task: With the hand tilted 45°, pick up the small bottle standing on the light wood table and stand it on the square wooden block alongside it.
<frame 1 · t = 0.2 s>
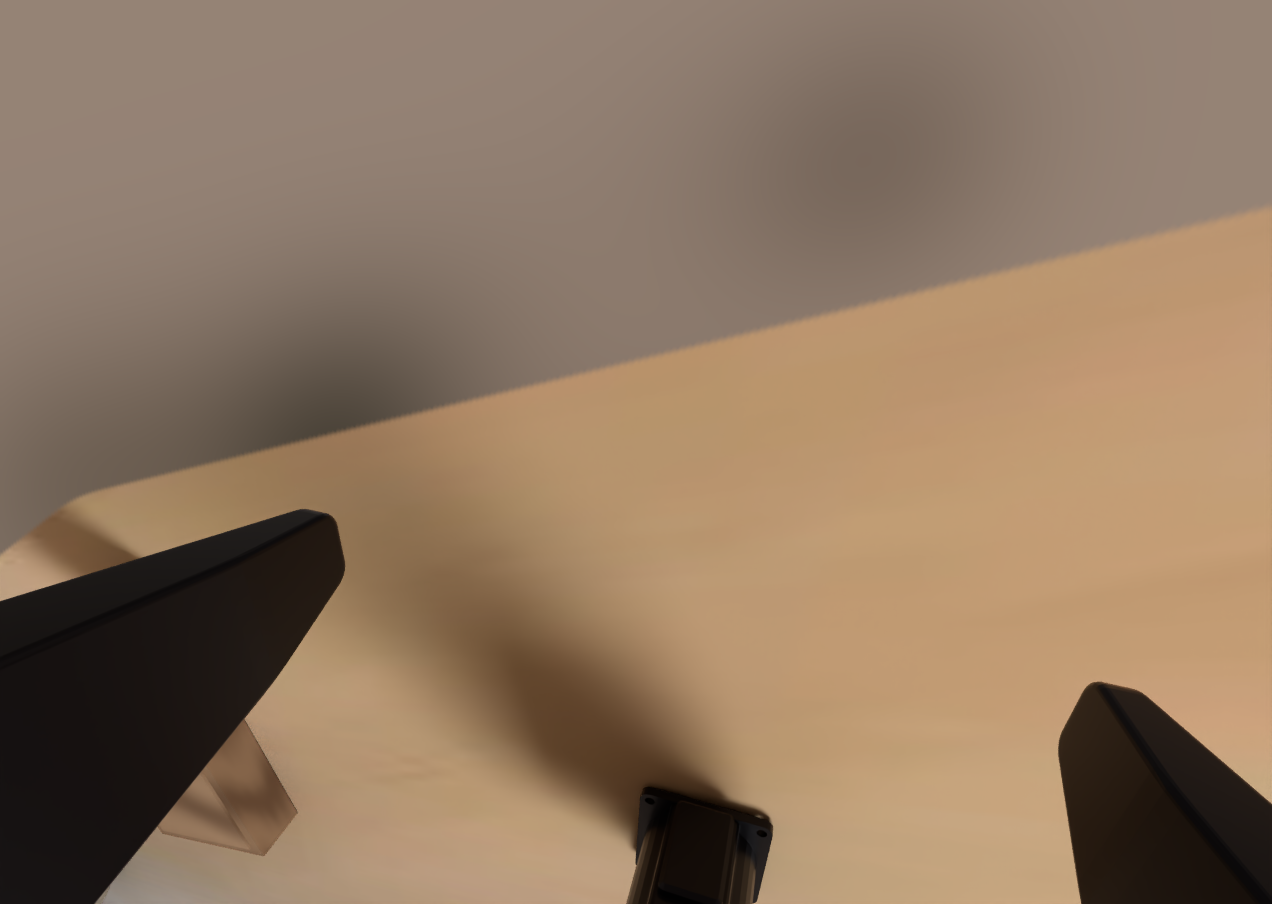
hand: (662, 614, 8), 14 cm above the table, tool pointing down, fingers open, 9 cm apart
square wooden block: (219, 758, 43), on the table
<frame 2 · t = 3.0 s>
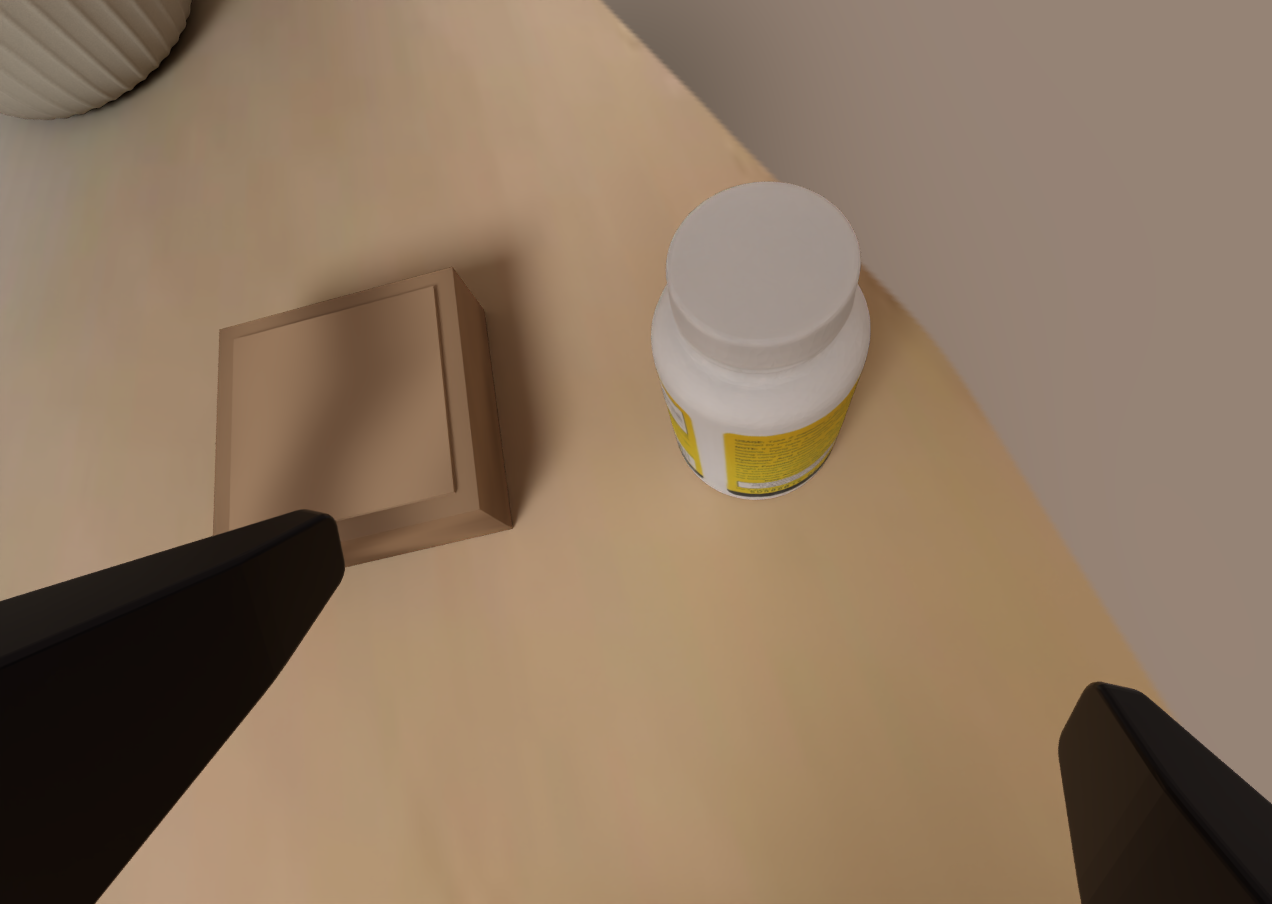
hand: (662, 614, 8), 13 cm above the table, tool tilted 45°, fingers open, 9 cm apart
supplement bottle: (753, 428, 23), on the table
canister: (105, 44, 35), on the table
square wooden block: (384, 440, 24), on the table
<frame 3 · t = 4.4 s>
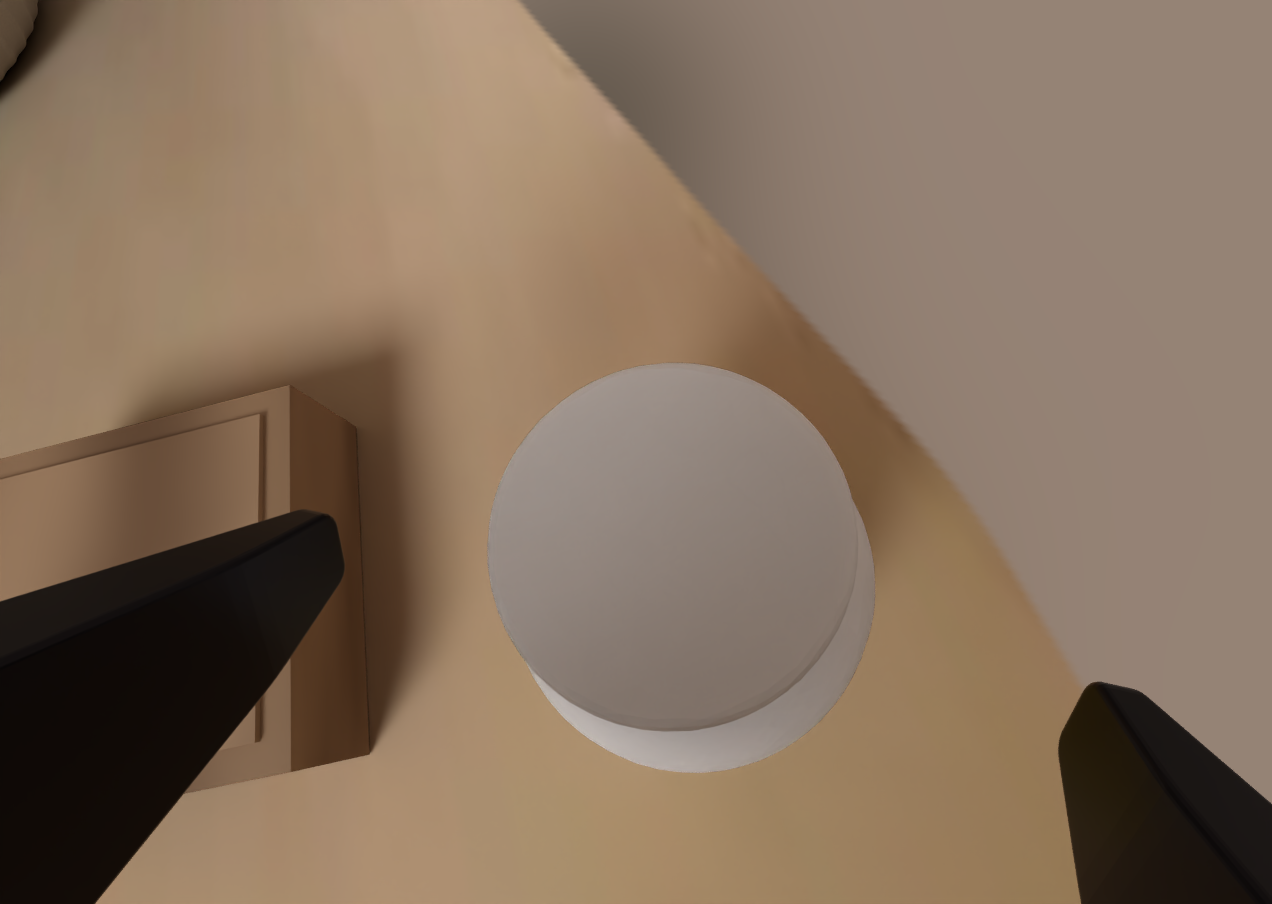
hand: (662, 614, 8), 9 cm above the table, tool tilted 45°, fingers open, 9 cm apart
supplement bottle: (709, 614, 16), on the table
square wooden block: (211, 610, 18), on the table
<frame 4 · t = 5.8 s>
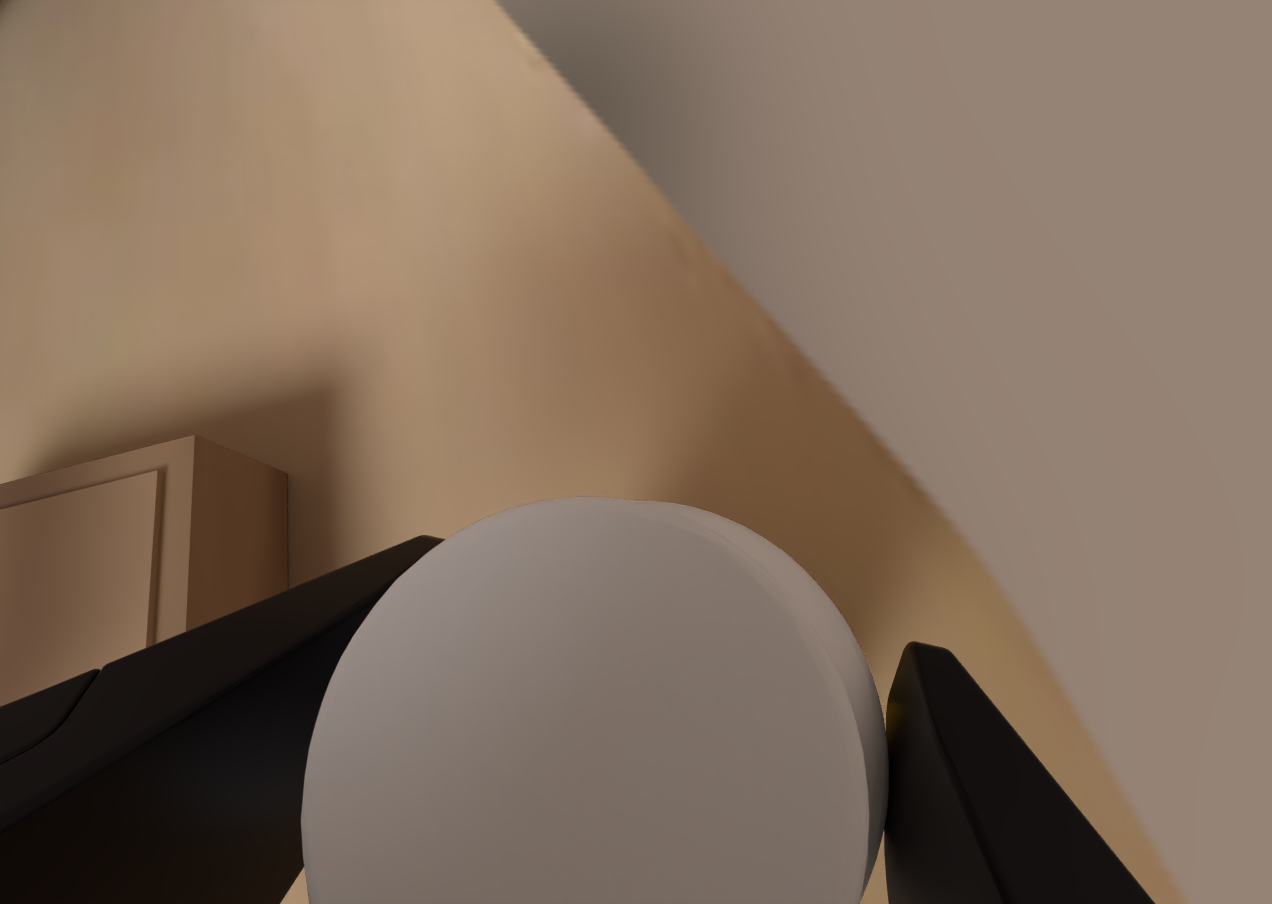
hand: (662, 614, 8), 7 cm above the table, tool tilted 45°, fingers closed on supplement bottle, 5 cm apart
supplement bottle: (686, 704, 14), on the table, touching gripper
square wooden block: (116, 688, 16), on the table
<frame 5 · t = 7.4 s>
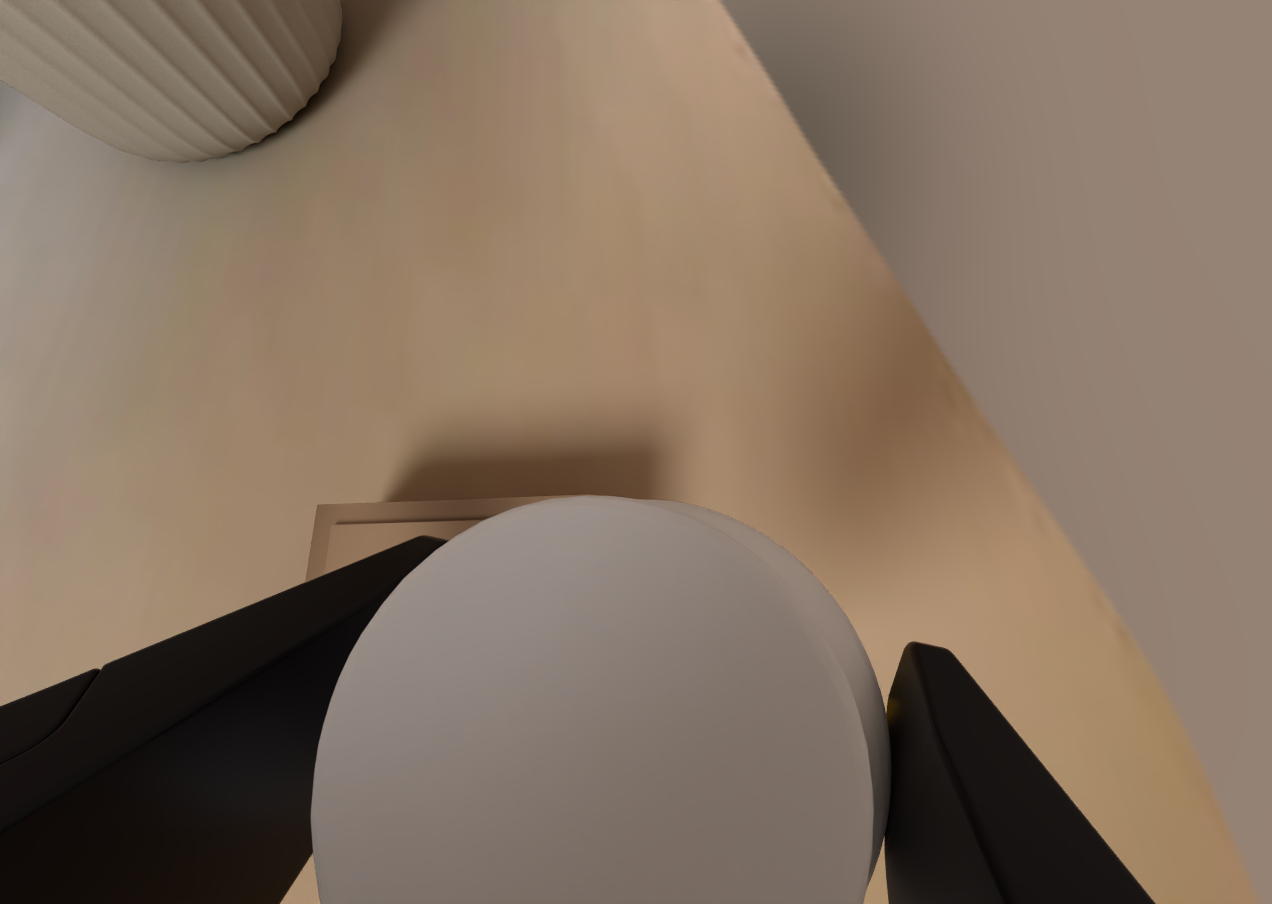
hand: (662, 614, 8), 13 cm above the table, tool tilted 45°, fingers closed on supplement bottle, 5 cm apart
supplement bottle: (689, 702, 14), point 6 cm above the table, touching gripper
canister: (239, 75, 32), on the table
square wooden block: (478, 654, 21), on the table
when the fingers open (10 cm above the table, at t = 9.0 s): supplement bottle stays where it is, resting on square wooden block.
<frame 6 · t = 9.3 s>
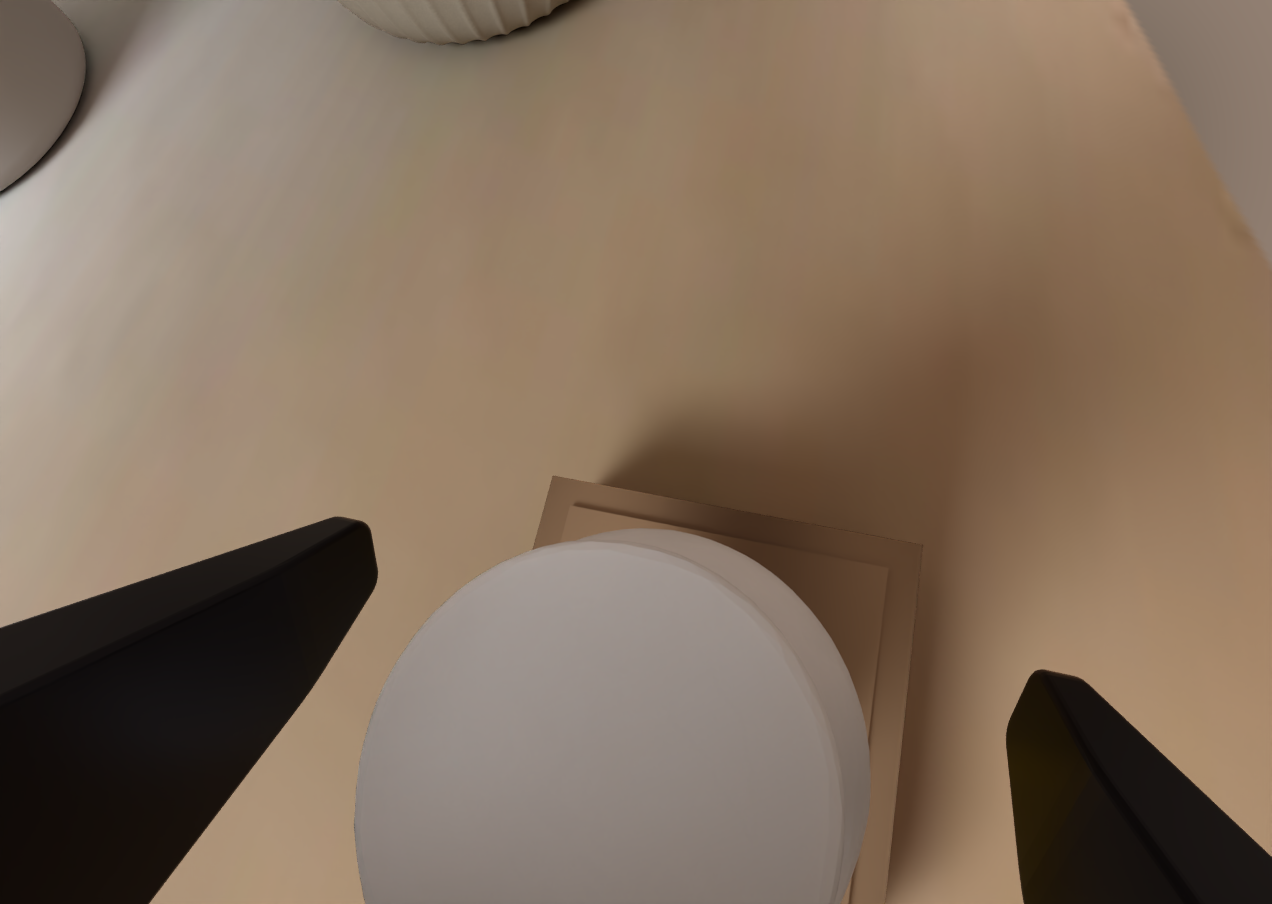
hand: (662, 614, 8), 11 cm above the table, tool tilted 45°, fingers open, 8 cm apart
supplement bottle: (687, 709, 14), point 3 cm above the table, touching square wooden block
square wooden block: (697, 695, 17), on the table
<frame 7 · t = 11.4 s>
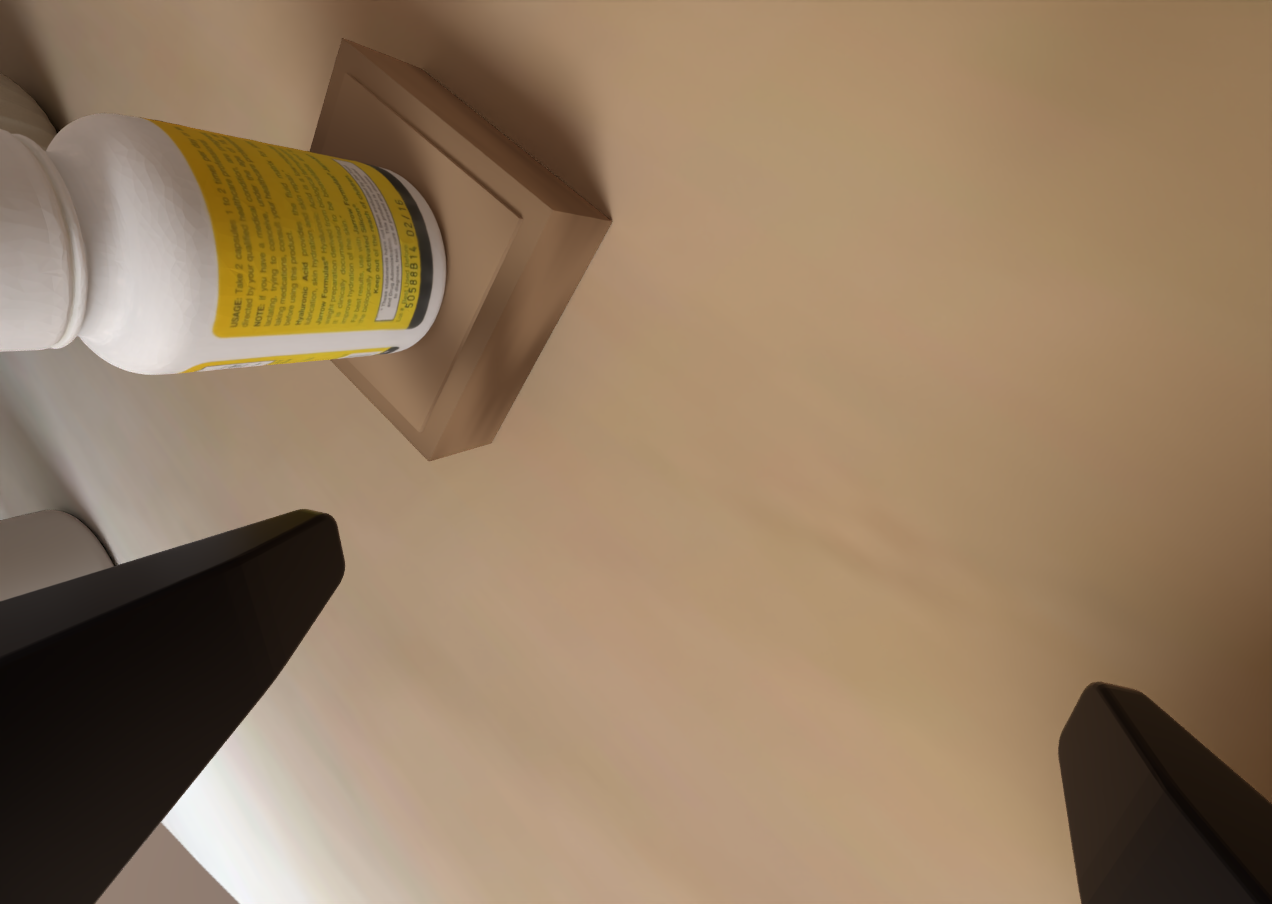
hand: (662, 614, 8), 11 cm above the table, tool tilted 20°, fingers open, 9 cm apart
cylinder vase: (93, 593, 44), on the table
supplement bottle: (392, 263, 20), point 3 cm above the table, touching square wooden block
canister: (44, 207, 36), on the table
square wooden block: (457, 264, 22), on the table
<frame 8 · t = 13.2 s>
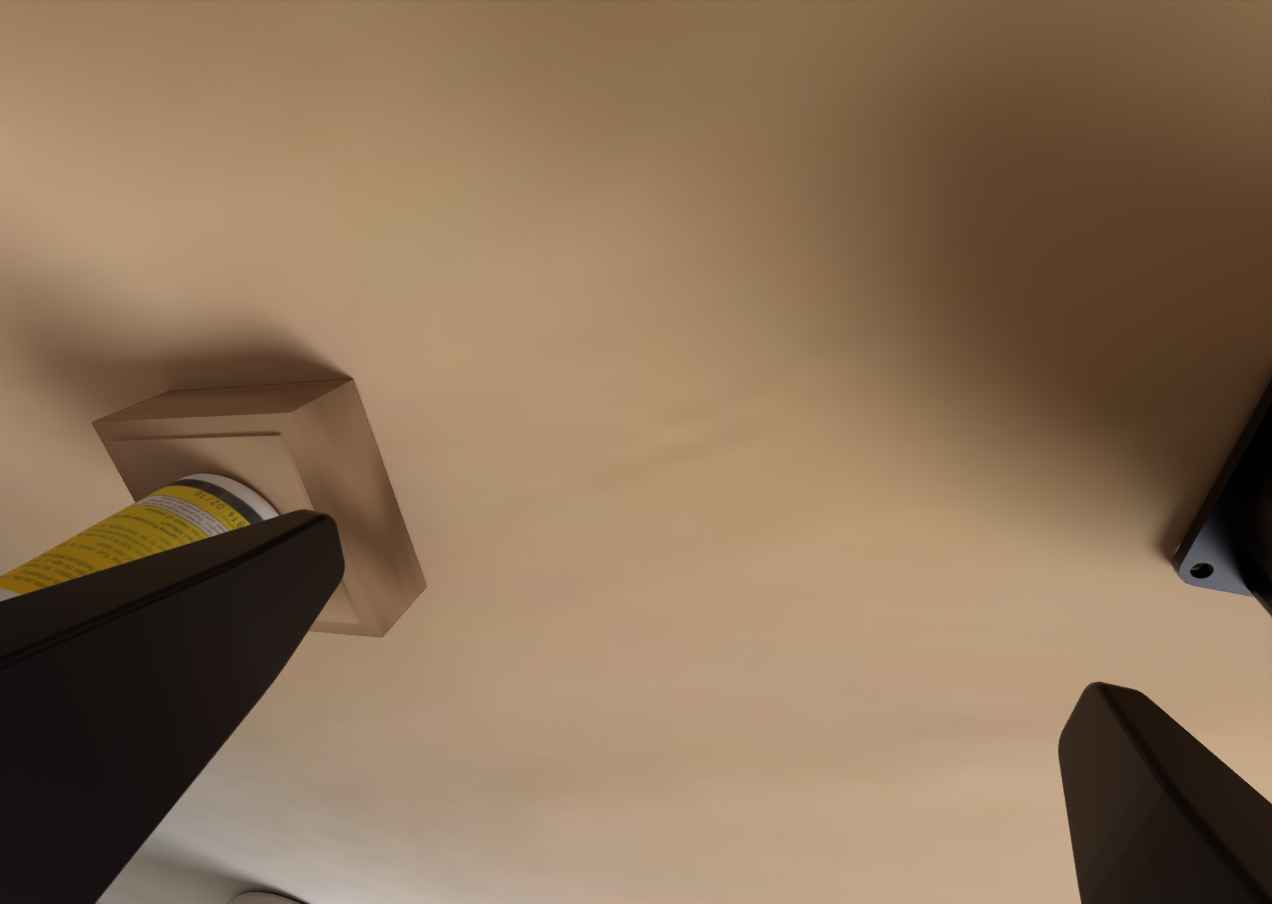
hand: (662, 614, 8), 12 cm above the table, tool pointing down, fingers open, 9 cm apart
supplement bottle: (244, 531, 23), point 3 cm above the table, touching square wooden block
square wooden block: (299, 491, 26), on the table
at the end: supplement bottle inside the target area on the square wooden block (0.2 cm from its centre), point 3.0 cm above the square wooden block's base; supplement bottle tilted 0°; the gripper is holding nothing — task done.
